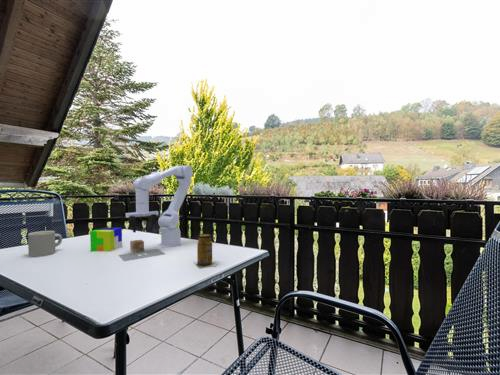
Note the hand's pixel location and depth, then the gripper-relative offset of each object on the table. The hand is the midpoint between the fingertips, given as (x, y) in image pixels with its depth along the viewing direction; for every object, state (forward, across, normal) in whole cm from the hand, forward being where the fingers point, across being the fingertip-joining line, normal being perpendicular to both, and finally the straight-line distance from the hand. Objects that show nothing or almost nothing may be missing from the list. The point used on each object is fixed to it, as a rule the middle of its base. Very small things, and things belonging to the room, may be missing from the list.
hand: (142, 231), depth 129 cm
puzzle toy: (+10, -13, +16) cm, 23 cm away
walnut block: (+10, -2, +3) cm, 11 cm away
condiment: (+10, +15, -35) cm, 39 cm away
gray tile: (+10, -2, -6) cm, 12 cm away
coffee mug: (+10, -37, +25) cm, 46 cm away
